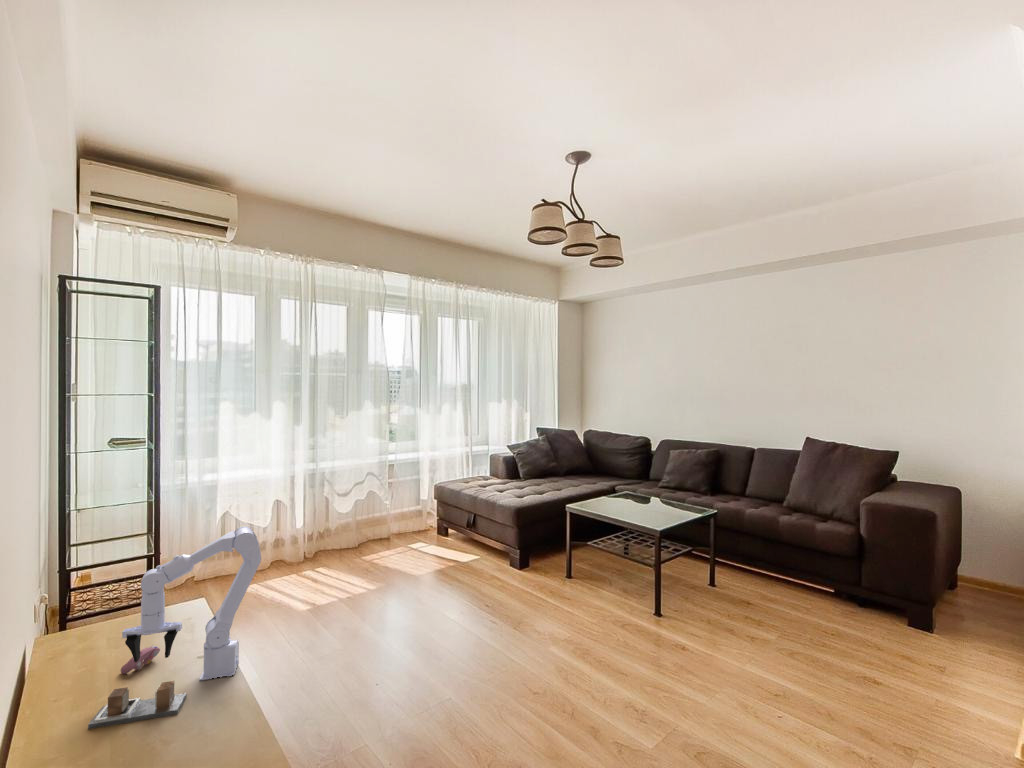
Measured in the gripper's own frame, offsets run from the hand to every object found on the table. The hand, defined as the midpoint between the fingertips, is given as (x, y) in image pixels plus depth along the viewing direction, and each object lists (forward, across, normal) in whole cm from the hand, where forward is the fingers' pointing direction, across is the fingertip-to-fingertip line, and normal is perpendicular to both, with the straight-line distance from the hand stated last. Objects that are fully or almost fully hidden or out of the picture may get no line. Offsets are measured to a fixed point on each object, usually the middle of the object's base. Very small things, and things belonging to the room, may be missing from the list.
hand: (152, 658), depth 148 cm
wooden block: (+8, -4, -12) cm, 15 cm away
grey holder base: (+9, +1, -12) cm, 15 cm away
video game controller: (+9, -8, +15) cm, 19 cm away
